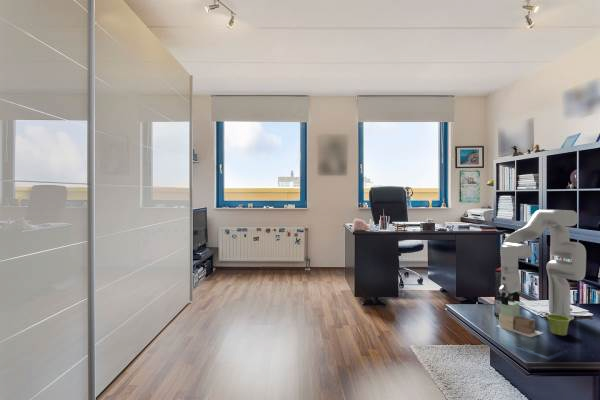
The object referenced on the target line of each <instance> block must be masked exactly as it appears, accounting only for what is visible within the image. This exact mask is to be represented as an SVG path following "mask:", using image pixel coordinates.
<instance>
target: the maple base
mask: <svg viewBox="0 0 600 400" xmlns="http://www.w3.org/2000/svg"><path fill="white" fill-rule="evenodd" d="M521 316H522V315H520V314H519V316H515V317H510V316H506V315H503V314H501V313H500V314H499V317H498V325H499V326H502V327H505V328H509V329H512V330H514V329H515V318H518V317H521Z"/></svg>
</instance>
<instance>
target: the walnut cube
mask: <svg viewBox="0 0 600 400" xmlns="http://www.w3.org/2000/svg"><path fill="white" fill-rule="evenodd" d="M515 330H516V331H519V332H522V333H525V334H531V333H534V332H535V330H536V319H533V318H530V317H526V316H522V315H521V317H518V318H515Z"/></svg>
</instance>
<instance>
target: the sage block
mask: <svg viewBox="0 0 600 400" xmlns="http://www.w3.org/2000/svg"><path fill="white" fill-rule="evenodd" d="M500 304H501V314H503V315H506V316H510V317H515V316H519V315H520V302H516V301H515V302H511V301H508V305H504V304H502V303H501V302H500Z"/></svg>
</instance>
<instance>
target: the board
mask: <svg viewBox="0 0 600 400" xmlns="http://www.w3.org/2000/svg"><path fill="white" fill-rule="evenodd" d="M496 327H497V328H501V329H504V330H507V331H510V332H514V333H517V334H519V335H523V336H526V337H529V338H533V337H535V336H539V335H541V334H544V332H543V331H538V330H536V329H535V332H534V333H531V334H525V333H522V332H519V331H516V330H515V329H514V330H512V329H509V328H505V327H502V326H499V324H498V325H496Z"/></svg>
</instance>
